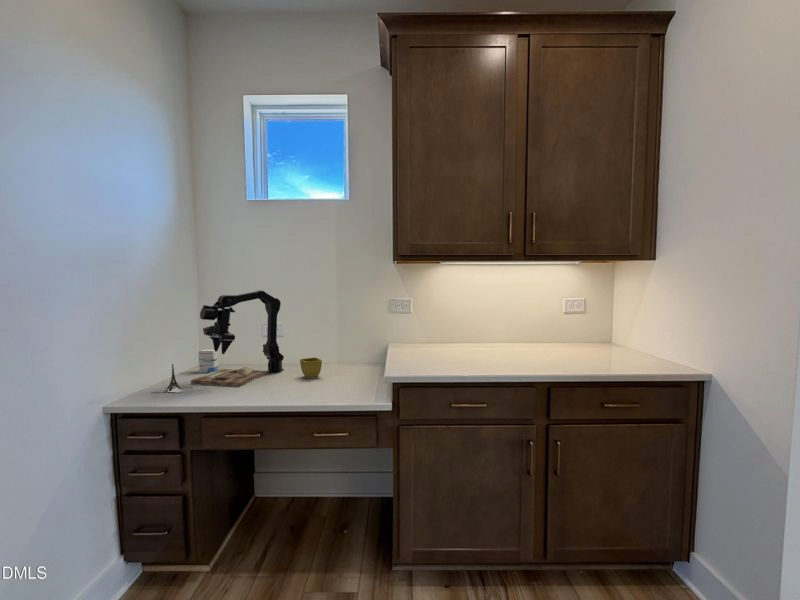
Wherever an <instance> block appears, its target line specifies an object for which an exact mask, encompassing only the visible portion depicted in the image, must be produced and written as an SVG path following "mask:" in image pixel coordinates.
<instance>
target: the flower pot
mask: <svg viewBox="0 0 800 600" xmlns="http://www.w3.org/2000/svg"><path fill="white" fill-rule="evenodd" d="M299 362H300V369H301V372H302V375H303V376H304V377H306V379H311V378H312V377H313V378H318V376H319V375H320V374H321V370H322V364H323V363H322V362H323V359H320V358H318V357H315V356H314V357H307V358H300V359H299Z"/></svg>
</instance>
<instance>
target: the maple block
mask: <svg viewBox="0 0 800 600" xmlns="http://www.w3.org/2000/svg"><path fill="white" fill-rule="evenodd" d="M236 370H237V377H249V376H251V375H252V370H253V367H252V366H241V367H238V368H237V369H236Z"/></svg>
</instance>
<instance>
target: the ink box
mask: <svg viewBox="0 0 800 600" xmlns="http://www.w3.org/2000/svg"><path fill="white" fill-rule="evenodd" d="M218 352H219V351H217V352H215V351H214V349H201V350H198V368H199V369H198V370H199V371H198V372H199V373H211V372H214V371H216V370H219V356H218V355H219V354H218Z"/></svg>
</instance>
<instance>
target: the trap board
mask: <svg viewBox="0 0 800 600" xmlns="http://www.w3.org/2000/svg"><path fill="white" fill-rule="evenodd" d="M264 374H265V375H266V371H265V370H253V369H252V375H251V376H249V377H237V369H233V368H231V369H230V368H229V369H228V368H218V370H216V371H214V372H207V373H206V374H204V375H201V376H199V377H196V378H193V379H191V380H190V384H191V385H196V384H201V385H200V386H216V385H217V387H218V386H219V387H236V386H237V387H243V386H245V385H247V384H248V382H249V383H250V381H251V382H252V380H253V381H254V379H255V380H256V378H257V379H258V377H259V378H261V377H263V376H265V375H264ZM262 375H263V376H262ZM260 376H261V377H260ZM246 383H247V384H246Z"/></svg>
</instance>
